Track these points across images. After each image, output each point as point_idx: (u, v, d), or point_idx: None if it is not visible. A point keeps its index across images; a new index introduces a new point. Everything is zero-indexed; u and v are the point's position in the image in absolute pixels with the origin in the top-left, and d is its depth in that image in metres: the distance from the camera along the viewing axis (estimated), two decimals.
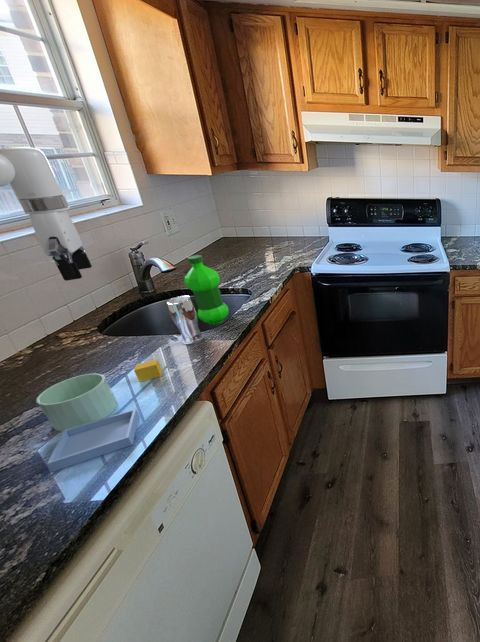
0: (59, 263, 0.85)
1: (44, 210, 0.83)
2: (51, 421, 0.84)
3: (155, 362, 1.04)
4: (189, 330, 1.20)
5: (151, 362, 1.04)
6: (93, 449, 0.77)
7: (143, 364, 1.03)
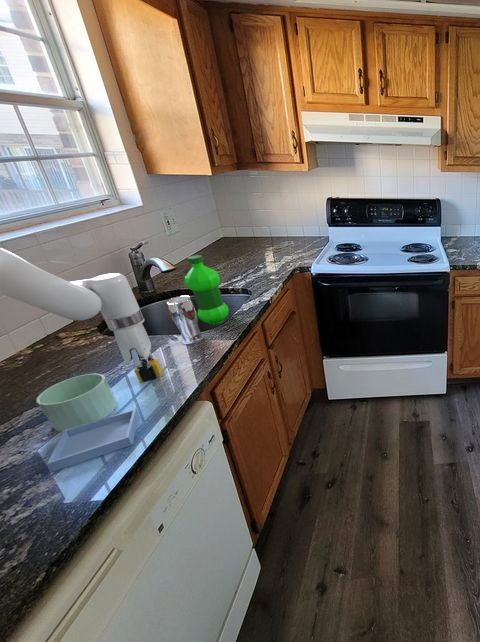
0: (140, 369, 1.00)
1: (126, 327, 0.95)
2: (51, 421, 0.84)
3: (155, 362, 1.04)
4: (189, 330, 1.20)
5: (151, 362, 1.04)
6: (93, 449, 0.77)
7: None
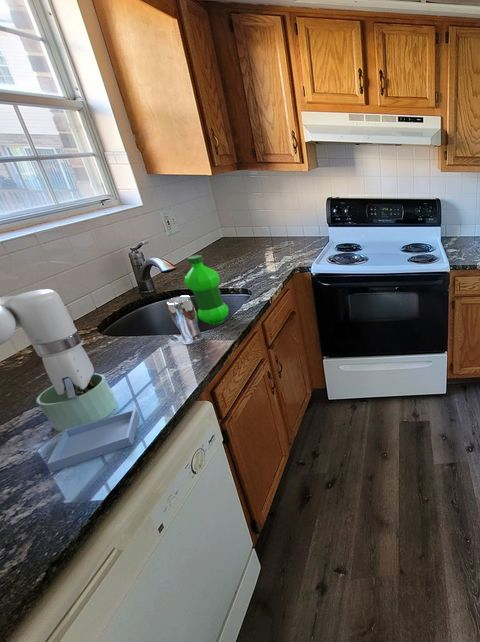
0: None
1: (57, 352, 0.81)
2: (51, 421, 0.84)
3: None
4: (189, 330, 1.20)
5: None
6: (93, 449, 0.77)
7: None
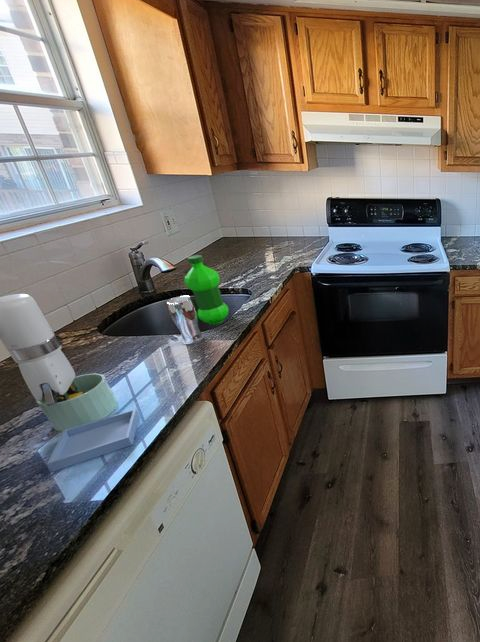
0: None
1: (34, 358, 0.79)
2: (51, 421, 0.84)
3: None
4: (189, 330, 1.20)
5: (74, 396, 0.89)
6: (93, 449, 0.77)
7: None
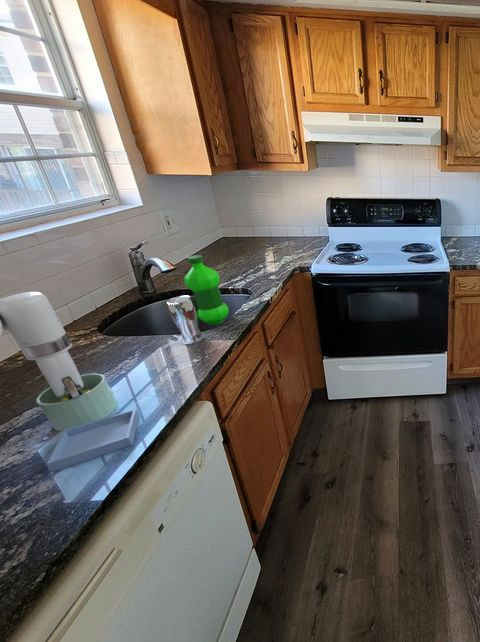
0: None
1: (54, 353, 0.81)
2: (51, 421, 0.84)
3: None
4: (189, 330, 1.20)
5: None
6: (93, 449, 0.77)
7: None
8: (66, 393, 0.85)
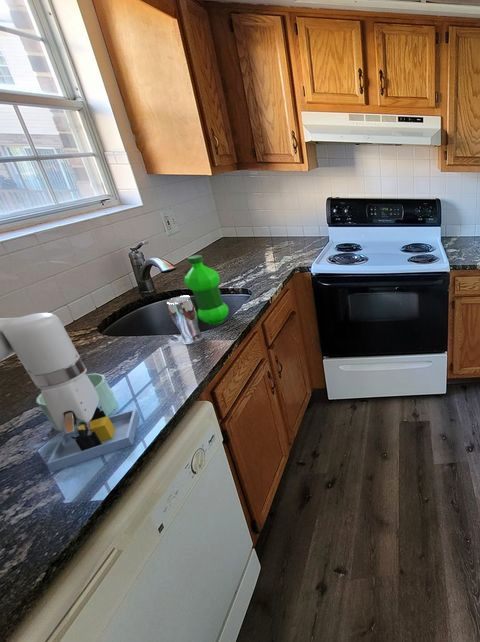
0: (77, 438, 0.75)
1: (58, 383, 0.72)
2: (51, 421, 0.84)
3: (104, 421, 0.81)
4: (189, 330, 1.20)
5: (99, 421, 0.81)
6: (93, 449, 0.77)
7: None
8: None
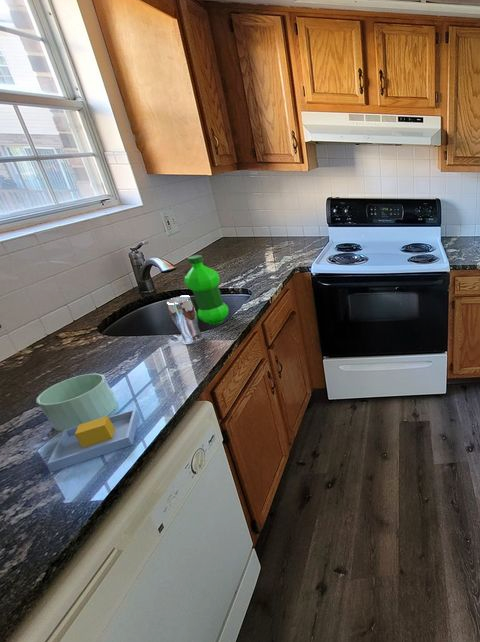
0: None
1: None
2: (51, 421, 0.84)
3: (104, 421, 0.81)
4: (189, 330, 1.20)
5: (99, 421, 0.81)
6: (93, 449, 0.77)
7: (88, 425, 0.80)
8: None
